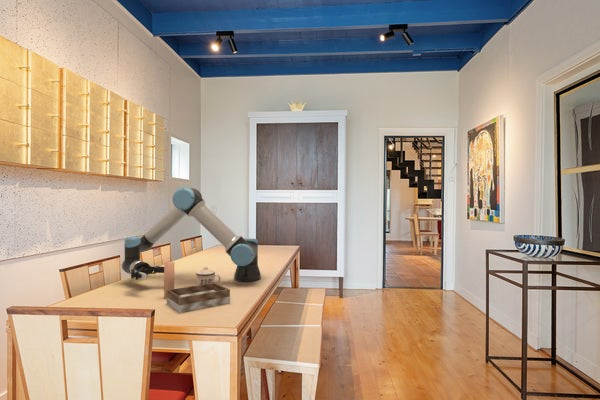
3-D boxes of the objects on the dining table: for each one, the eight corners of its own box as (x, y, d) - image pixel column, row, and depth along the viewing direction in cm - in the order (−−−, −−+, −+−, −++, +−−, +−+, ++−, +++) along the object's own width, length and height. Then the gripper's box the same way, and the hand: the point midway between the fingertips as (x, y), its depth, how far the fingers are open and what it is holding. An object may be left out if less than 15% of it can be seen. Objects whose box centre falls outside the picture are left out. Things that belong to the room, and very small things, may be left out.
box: (214, 295, 165) (214, 282, 165) (229, 303, 152) (229, 289, 152) (166, 303, 151) (166, 289, 151) (179, 313, 138) (179, 298, 139)
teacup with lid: (197, 293, 168) (197, 269, 168) (194, 289, 176) (194, 266, 176) (222, 290, 173) (222, 267, 173) (218, 286, 181) (218, 264, 181)
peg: (172, 295, 164) (172, 261, 164) (175, 297, 160) (175, 263, 160) (162, 297, 161) (162, 262, 161) (165, 299, 157) (165, 264, 158)
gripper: (163, 272, 189) (183, 278, 175) (114, 280, 171) (133, 287, 157) (163, 258, 189) (183, 263, 175) (114, 264, 171) (133, 270, 157)
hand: (160, 274), depth 166 cm, fingers open, 13 cm apart
